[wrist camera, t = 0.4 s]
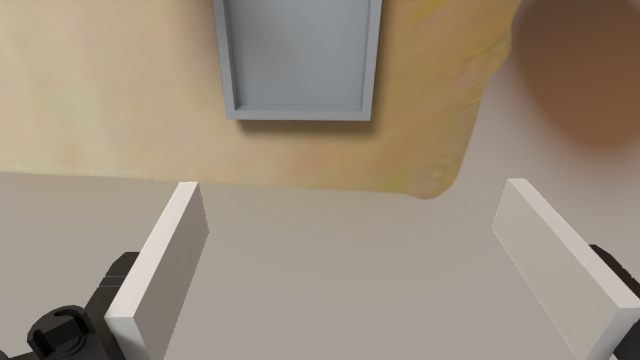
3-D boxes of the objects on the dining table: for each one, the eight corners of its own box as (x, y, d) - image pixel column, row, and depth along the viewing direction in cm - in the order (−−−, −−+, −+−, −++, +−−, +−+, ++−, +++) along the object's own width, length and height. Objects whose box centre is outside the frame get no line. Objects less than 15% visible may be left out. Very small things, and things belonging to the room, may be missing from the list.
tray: (213, -52, 34) (205, -53, 32) (381, -48, 35) (386, -48, 32) (231, 109, 43) (226, 119, 40) (366, 111, 43) (370, 120, 41)
